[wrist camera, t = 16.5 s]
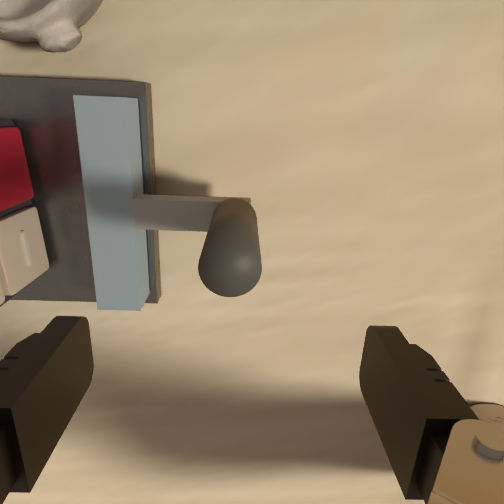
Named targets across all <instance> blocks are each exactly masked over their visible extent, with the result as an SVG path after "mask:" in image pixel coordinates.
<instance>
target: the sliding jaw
mask: <svg viewBox="0 0 504 504" xmlns="http://www.w3.org/2000/svg"><path fill="white" fill-rule="evenodd" d="M73 100H74V108H75V117H76V126H77V134H78V143H79V152H80V161H81V169H82V178H83V187H84V196H85V204H86V213H87V222H88V230H89V239H90V248H91V257H92V265H93V274H94V283H95V292H96V300H97V309H98V310H135V311H141V309H142V307H143V305H144V303H145V301H146V299H147V297H148V295H149V293H150V290H149V274H148V257H147V241H146V230H173V231H205V232H208V233H207V236H206V239H205V243H204V246H203V249H202V253H201V256H200V259H199V264H198V271H199V275H200V278H201V280H202V282H203V283H204V285H205V286H206V287H207V288H208V289H209V290H210V291H212V292H213V293H215V294H217V295H220V296H225V297H236V296H240V295H243V294H245V293H247V292H249V291H250V290H252V289H253V288H254V287H255V285H256V284H257V283H258V281H259V279H260V276H261V271H262V264H261V255H260V246H259V237H258V227H257V218H256V213H255V211H254V209H253V207H252V206H251V199H250V198H236V197H206V196H177V195H147V194H144V191H143V174H142V158H141V141H140V125H139V108H138V99H137V98H127V97H105V96H81V95H73Z"/></svg>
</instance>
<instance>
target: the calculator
mask: <svg viewBox="0 0 504 504" xmlns="http://www.w3.org/2000/svg"><path fill="white" fill-rule="evenodd" d="M33 197H34V193H33V188H32V184H31V179H30V175H29V170H28V165H27V161H26V156H25V152H24V147H23V143H22V138H21V133H20V130H19V128H17V127H15V126H14V123H13V122H12V121H11V120H10V119H0V306H2V305H3V304H4V303H6V302H7V301H8V300H10V299H11V298H12V297H14V296H15V295H16V294H18V293H19V292H20V291H22V290H23V289H24V288H26V287H27V286H28V285H29V284H31V283H32V282H33V281H35V280H36V279H37V278H39V277H40V276H41V275H43V274H44V273H45V271H46V270H48V268H49V262H48V257H47V253H46V248H45V243H44V239H43V234H42V230H41V225H40V220H39V216H38V211H37V209H36V207H33V206H32V202H31V199H32V198H33Z"/></svg>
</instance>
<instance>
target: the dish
mask: <svg viewBox="0 0 504 504" xmlns="http://www.w3.org/2000/svg"><path fill="white" fill-rule="evenodd" d="M102 1H103V0H0V38H1V39H4V40H10V41H16V42H39V44H40V46H41V47H42V49H43V50H44V51H47V52H67V51H70V50H72V49H73V48H75V47H76V46H77V45H78V44H79V43H80V41H81V38H82V34H81V31H80V30H79V28H80V27H81V26H83V25H84V24H85V23H86V22H87V21H88V20H89V19H90V18H91V17H92V16H93V15H94V13H95V12H96V11H97V9H98V8H99V6H100V4H101V3H102Z"/></svg>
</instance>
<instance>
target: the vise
mask: <svg viewBox="0 0 504 504" xmlns="http://www.w3.org/2000/svg"><path fill="white" fill-rule="evenodd" d="M73 95H81V96H105V97H127V98H137V99H138V108H139V125H140V141H141V158H142V174H143V191H144V194H147V195H156V179H155V158H154V138H153V118H152V97H151V84H150V83H146V82H127V81H104V80H80V79H56V78H32V77H8V76H0V119H10V120H11V121H12V122H13V123H14V126H15V127H17V128H19V130H20V133H21V138H22V143H23V147H24V152H25V156H26V161H27V165H28V170H29V175H30V179H31V184H32V188H33V193H34V197H33V198H32V199H31V202H32V206H33V207H36V209H37V211H38V216H39V220H40V225H41V230H42V234H43V239H44V243H45V248H46V253H47V257H48V262H49V268H48V270H46V271H45V273H44V274H43V275H41V276H40V277H39V278H37V279H36V280H35V281H33V282H32V283H31V284H29V285H28V286H27V287H26V288H24V289H23V290H22V291H20V292H19V293H18V294H16V295H15V296H14V297H12V298H11V299H10V300H44V301H84V302H97V300H96V292H95V283H94V274H93V265H92V257H91V248H90V239H89V230H88V222H87V213H86V204H85V196H84V187H83V178H82V169H81V161H80V152H79V143H78V134H77V126H76V117H75V108H74V100H73ZM146 241H147V257H148V274H149V290H150V293H149V295H148V297H147V299H146V301H145V303H158V301H159V299H160V296H161V281H160V260H159V240H158V230H146Z"/></svg>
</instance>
